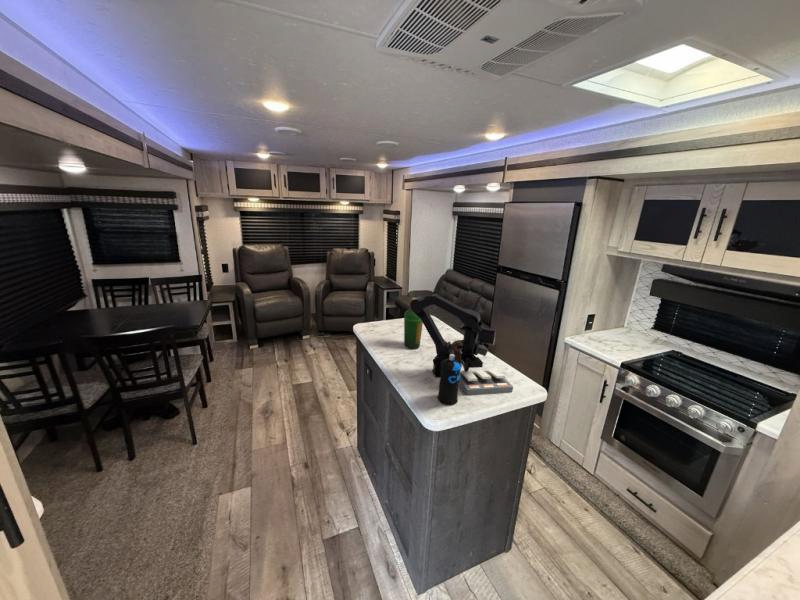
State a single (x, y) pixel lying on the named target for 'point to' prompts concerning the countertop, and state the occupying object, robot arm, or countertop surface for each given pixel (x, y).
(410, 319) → the bottle
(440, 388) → the aerosol can
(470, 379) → the rocker
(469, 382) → the switch unit
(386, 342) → the countertop surface
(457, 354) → the muffin
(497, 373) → the rocker
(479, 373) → the rocker
